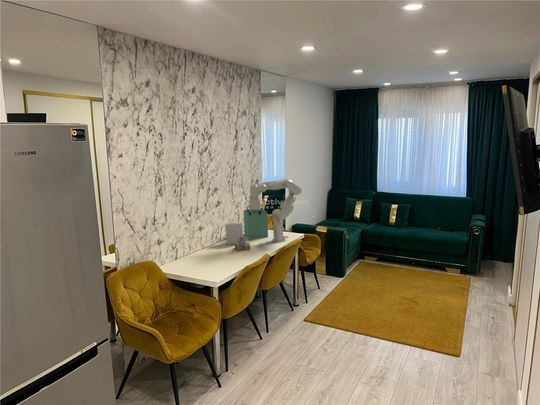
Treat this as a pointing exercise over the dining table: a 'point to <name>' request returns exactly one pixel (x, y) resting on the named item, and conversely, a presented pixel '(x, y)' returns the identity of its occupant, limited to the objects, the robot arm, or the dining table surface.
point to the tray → (242, 247)
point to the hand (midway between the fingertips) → (255, 215)
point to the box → (255, 224)
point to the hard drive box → (233, 232)
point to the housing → (242, 241)
